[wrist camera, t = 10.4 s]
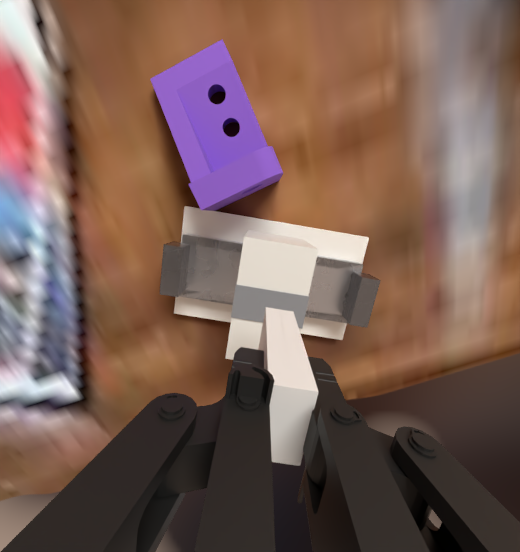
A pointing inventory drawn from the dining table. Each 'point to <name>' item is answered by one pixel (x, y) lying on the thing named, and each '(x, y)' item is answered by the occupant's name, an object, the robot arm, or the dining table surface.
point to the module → (269, 284)
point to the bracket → (215, 129)
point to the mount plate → (239, 225)
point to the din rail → (224, 273)
